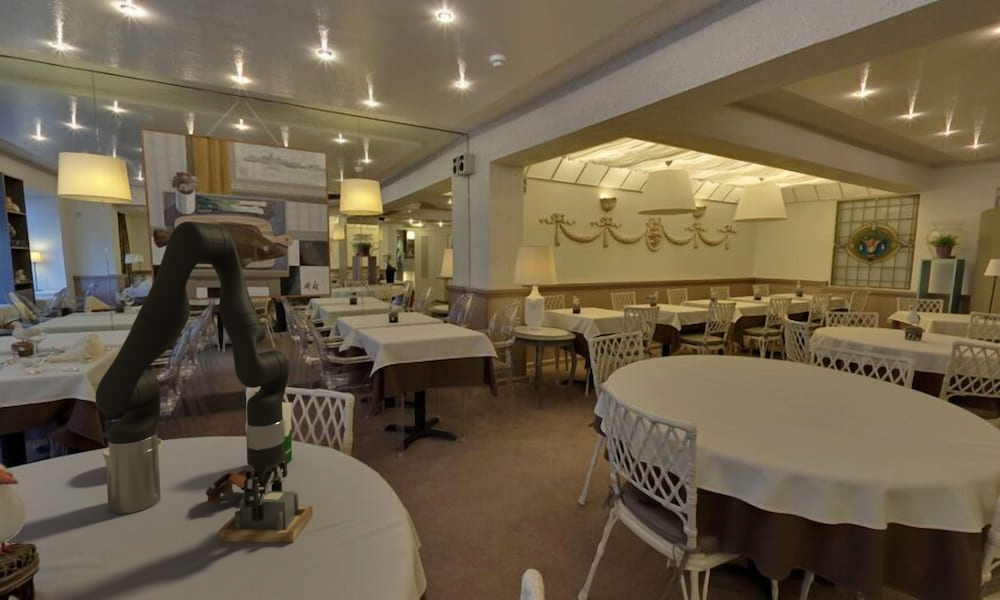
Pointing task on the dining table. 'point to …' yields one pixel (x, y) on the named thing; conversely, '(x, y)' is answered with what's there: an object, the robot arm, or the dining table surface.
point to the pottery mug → (228, 484)
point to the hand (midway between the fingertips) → (267, 509)
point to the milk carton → (287, 430)
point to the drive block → (270, 511)
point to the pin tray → (236, 533)
